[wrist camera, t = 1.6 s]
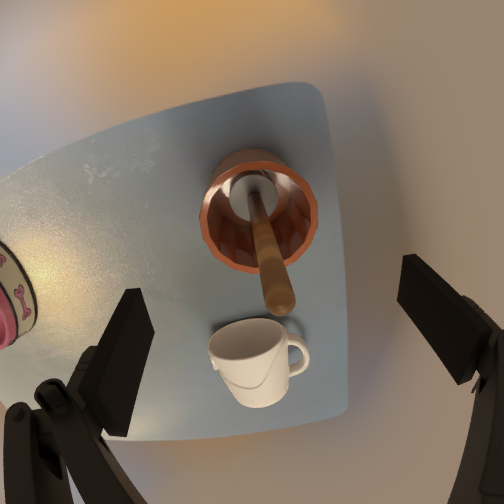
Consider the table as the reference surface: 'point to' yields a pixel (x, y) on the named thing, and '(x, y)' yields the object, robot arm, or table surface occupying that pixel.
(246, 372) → the mug
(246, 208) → the toilet plunger
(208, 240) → the crock
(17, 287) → the dog bowl
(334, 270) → the table surface
